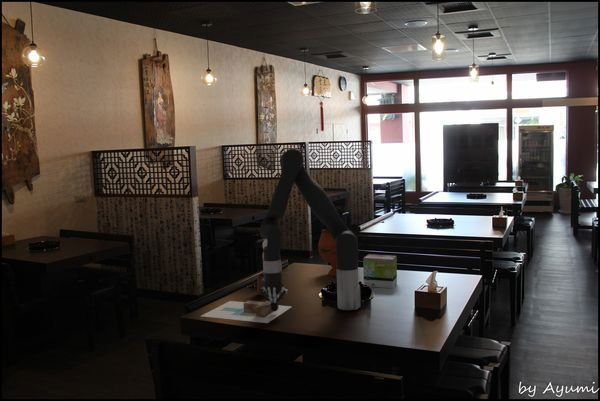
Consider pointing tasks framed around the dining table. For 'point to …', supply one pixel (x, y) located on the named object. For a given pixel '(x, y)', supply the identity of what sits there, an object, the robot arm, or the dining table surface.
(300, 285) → the dining table surface
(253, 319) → the mat
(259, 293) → the mug
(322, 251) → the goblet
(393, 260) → the tea box
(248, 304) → the t block
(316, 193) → the robot arm
